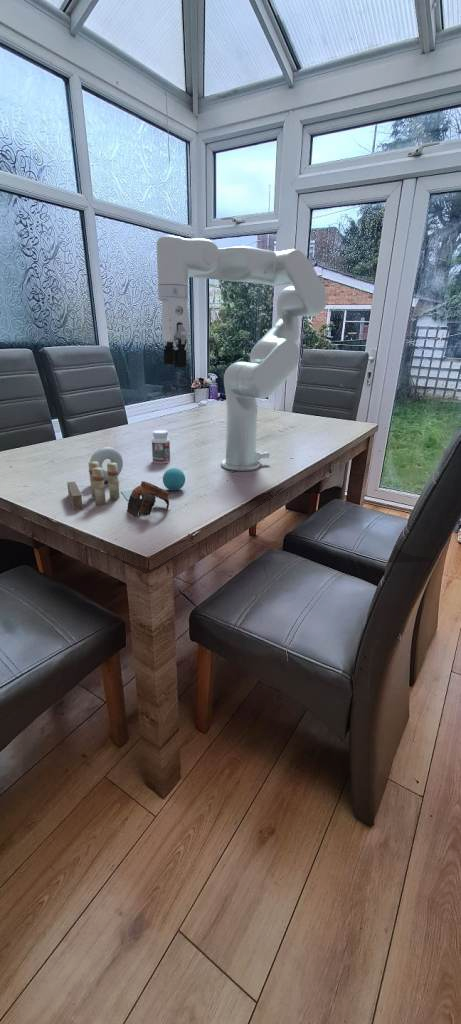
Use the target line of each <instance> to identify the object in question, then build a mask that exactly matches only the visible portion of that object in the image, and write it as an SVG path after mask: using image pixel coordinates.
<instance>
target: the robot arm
mask: <svg viewBox="0 0 461 1024" xmlns="http://www.w3.org/2000/svg"><path fill="white" fill-rule="evenodd" d="M156 268H157V270H156V271H157V293H158V294H157V297H158V301H161V336H162V340H163V341H162V342H163V346H162V347H163V364H164V365H173V366H174V368H185V367H187V343H188V342H189V341H190V324H189V323H190V322H189V321H190V320H189V319H190V318H189V310H188V309H189V308H188V302H189V278H194V279H195V278H196V279H204V280H219V281H220V280H221V281H226V282H227V281H228V282H239V283H250V284H259V285H267V286H286V285H287V287H285V288H283V289H282V290H281V291H280V293H279V294H278V296H277V300H276V320H275V322H274V324H273V326H272V327H271V328H270V329H269V330H268V331H267V332H266V333H265V334H264V335H263V336H262V337H261V338H260V339H259V340H258V341H257V343H255V344H254V346H253V347H252V349H251V351H250V355H249V361H250V362H249V361H248V362H247V361H237V362H234V363H232V364H231V363H230V365H229V366H228V367H227V368H226V370H225V372H224V375H223V386H224V392H225V399H226V415H225V416H226V420H225V422H226V423H225V424H226V427H225V428H226V429H225V432H226V433H225V458H223V459H222V460H221V461H220V466H221V467H222V468H223V469H226V470H229V471H236V472H237V471H240V472H242V471H244V472H245V471H247V472H248V471H253V470H256V469H259V468H260V467H261V462H260V461H261V459H269V458H270V453H269V451H265V452H262V451H257V431H258V430H257V429H258V403H257V399H258V400H259V399H260V400H262V399H266V398H268V397H270V396H271V395H273V393H274V392H276V391H277V390H278V389H279V387H281V385H283V384H284V382H285V381H286V380H287V379H288V378H289V377H290V376H291V375H292V373H293V372H294V371H295V370H296V368H297V367H298V365H299V362H300V355H301V354H300V349H299V346H298V344H297V341H298V339H299V336H300V327H299V326H300V322H299V317H313V316H314V317H315V316H318V315H320V314H322V312H323V311H324V310H325V308H326V305H327V302H328V296H327V291H326V288H325V286H324V285H323V282H322V281H321V279H320V276H319V275H318V273H317V271H316V270H315V268H314V267H313V265H312V263H311V261H310V260H309V259H308V257H307V256H306V255H305V254H304V252H303V251H301V250H300V249H297V248H292V249H286V250H281V251H277V250H270V249H265V248H264V249H263V248H257V247H253V246H247V245H246V246H245V245H241V246H239V245H238V246H231V247H224V248H223V247H222V248H221V247H220V248H219V247H218V246H217V244H216V243H215V242H214V241H212V240H210V239H208V238H184V237H181V236H177V235H176V236H175V235H164V236H160V237H159V238H158V239H157V240H156ZM288 285H291V286H288Z"/></svg>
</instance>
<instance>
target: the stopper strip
mask: <svg viewBox="0 0 461 1024" xmlns="http://www.w3.org/2000/svg"><path fill="white" fill-rule="evenodd" d="M66 486H67V491H68V492H67V493H68V497H69V500H70V502H71V504H72V505H71V506H72V507H73V510H74V511H77V510H83V509H84V506H83V498H82V493H81V492H80V489H79V487H78V484H77V483H76V481H67V483H66Z"/></svg>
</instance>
